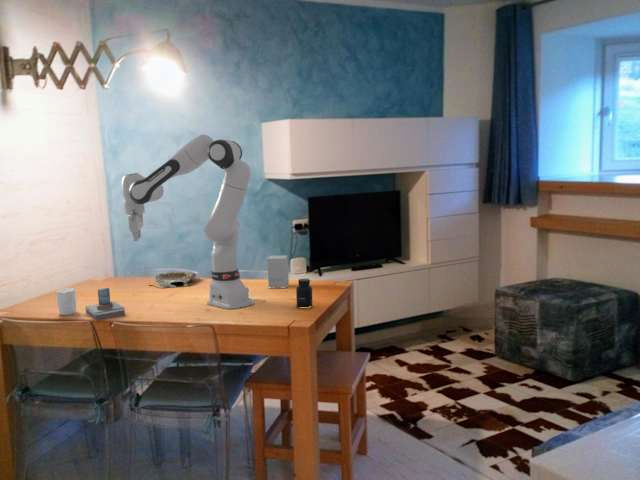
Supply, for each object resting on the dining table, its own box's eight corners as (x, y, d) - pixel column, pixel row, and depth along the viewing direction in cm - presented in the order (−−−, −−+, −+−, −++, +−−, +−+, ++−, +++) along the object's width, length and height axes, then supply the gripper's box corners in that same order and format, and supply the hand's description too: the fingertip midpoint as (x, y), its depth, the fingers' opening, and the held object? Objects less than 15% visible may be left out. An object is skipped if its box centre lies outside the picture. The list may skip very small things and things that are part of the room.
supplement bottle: (298, 309, 248) (297, 281, 247) (295, 305, 255) (294, 278, 253) (314, 308, 250) (313, 280, 248) (310, 304, 257) (309, 277, 255)
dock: (125, 314, 249) (124, 307, 249) (95, 320, 242) (94, 312, 242) (114, 308, 261) (113, 301, 260) (85, 313, 254) (85, 306, 253)
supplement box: (289, 284, 297) (288, 255, 295) (286, 288, 288) (285, 258, 286) (271, 284, 298) (270, 255, 296) (268, 288, 289) (266, 258, 287)
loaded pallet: (100, 305, 254) (98, 287, 253) (112, 304, 255) (110, 286, 254) (97, 309, 247) (95, 291, 246) (109, 308, 248) (108, 290, 247)
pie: (139, 283, 311) (139, 274, 310) (186, 276, 329) (185, 267, 329) (165, 291, 291) (165, 281, 290) (213, 283, 309) (213, 273, 308)
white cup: (71, 309, 260) (69, 287, 259) (81, 312, 255) (79, 289, 254) (54, 313, 254) (52, 290, 253) (63, 316, 249) (61, 293, 248)
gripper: (138, 210, 259) (141, 242, 261) (144, 207, 279) (146, 236, 281) (123, 211, 258) (127, 243, 260) (130, 208, 278) (133, 237, 280)
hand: (137, 239), depth 271 cm, fingers open, 8 cm apart
